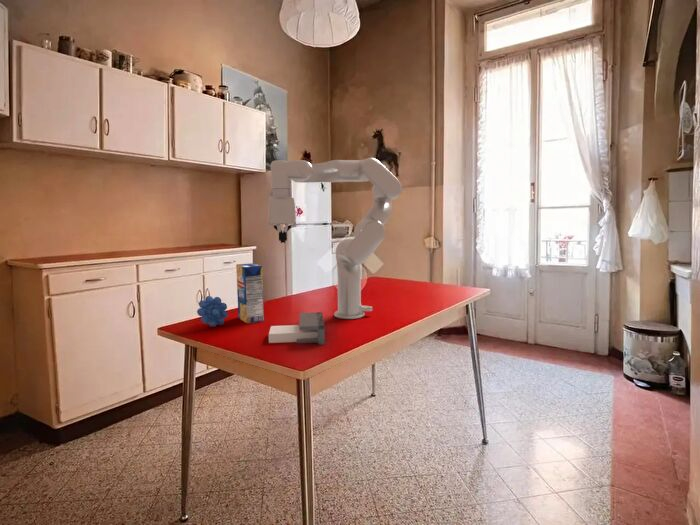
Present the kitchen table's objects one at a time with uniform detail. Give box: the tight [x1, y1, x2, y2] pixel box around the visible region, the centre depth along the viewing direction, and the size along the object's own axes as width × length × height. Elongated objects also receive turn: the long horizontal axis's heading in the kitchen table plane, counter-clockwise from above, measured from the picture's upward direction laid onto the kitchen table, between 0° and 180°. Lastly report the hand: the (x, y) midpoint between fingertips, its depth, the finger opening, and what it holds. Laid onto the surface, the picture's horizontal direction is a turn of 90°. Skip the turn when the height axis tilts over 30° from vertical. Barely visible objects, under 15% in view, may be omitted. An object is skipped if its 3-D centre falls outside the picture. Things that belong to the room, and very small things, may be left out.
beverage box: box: [235, 262, 265, 324], centre depth 158 cm, size 7×11×22 cm, turn 33°
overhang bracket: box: [296, 311, 326, 346], centre depth 135 cm, size 9×18×6 cm, turn 6°
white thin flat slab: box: [268, 324, 318, 344], centre depth 134 cm, size 16×10×3 cm, turn 96°
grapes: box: [196, 295, 229, 328], centre depth 147 cm, size 12×7×12 cm, turn 131°
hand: (283, 242), depth 151 cm, fingers closed
